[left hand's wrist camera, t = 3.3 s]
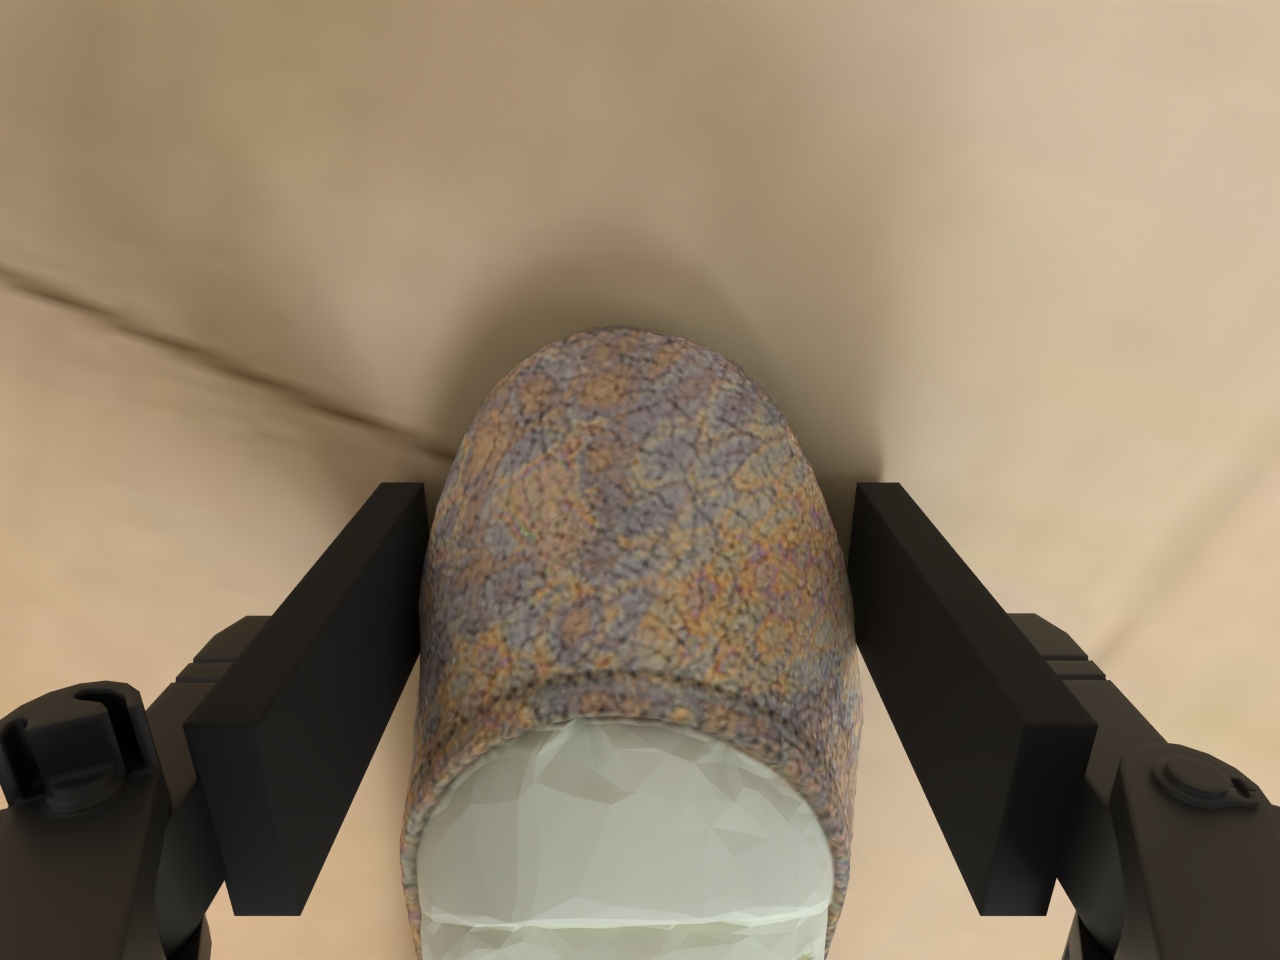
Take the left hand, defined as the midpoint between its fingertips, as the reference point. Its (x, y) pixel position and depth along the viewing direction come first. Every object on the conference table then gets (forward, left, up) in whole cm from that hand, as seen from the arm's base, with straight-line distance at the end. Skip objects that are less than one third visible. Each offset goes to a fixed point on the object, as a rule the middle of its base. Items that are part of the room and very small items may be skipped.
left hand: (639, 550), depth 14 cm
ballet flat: (+4, +7, 0) cm, 8 cm away
